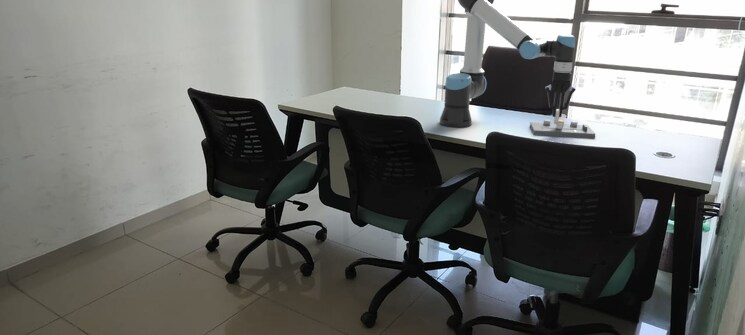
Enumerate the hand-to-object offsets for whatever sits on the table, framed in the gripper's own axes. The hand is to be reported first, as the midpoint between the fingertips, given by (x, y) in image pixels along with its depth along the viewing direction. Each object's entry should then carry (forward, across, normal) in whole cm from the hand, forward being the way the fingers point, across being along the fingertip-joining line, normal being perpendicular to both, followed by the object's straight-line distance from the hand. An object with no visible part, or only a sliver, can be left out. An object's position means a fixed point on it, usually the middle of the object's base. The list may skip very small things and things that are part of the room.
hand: (555, 123), depth 240 cm
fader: (+2, +2, 0) cm, 2 cm away
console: (+4, +3, +2) cm, 6 cm away
